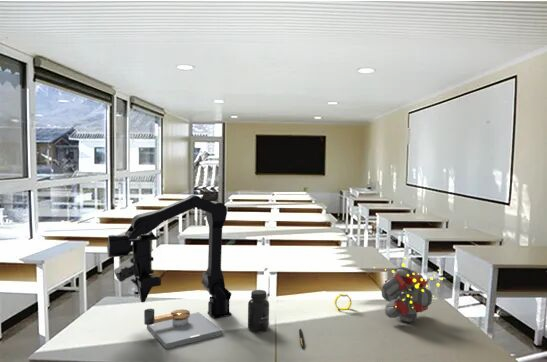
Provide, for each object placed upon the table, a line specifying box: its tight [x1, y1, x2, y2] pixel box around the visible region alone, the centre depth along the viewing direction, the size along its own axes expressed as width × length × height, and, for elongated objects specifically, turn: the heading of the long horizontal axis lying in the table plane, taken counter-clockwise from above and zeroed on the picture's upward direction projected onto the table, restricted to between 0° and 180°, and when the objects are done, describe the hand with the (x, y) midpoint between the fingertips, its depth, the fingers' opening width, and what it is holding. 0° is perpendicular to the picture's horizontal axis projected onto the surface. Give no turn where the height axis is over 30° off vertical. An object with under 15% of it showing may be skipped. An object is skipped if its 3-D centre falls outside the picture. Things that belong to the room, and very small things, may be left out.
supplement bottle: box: [247, 289, 270, 333], centre depth 136 cm, size 7×7×12 cm
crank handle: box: [143, 308, 191, 326], centre depth 134 cm, size 14×6×4 cm, turn 124°
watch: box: [334, 292, 353, 311], centre depth 154 cm, size 6×3×6 cm, turn 96°
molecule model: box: [373, 256, 444, 323], centre depth 143 cm, size 25×21×23 cm
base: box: [146, 312, 223, 349], centre depth 134 cm, size 18×18×4 cm
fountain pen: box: [298, 327, 305, 349], centre depth 129 cm, size 14×1×2 cm, turn 0°
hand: (142, 301), depth 137 cm, fingers closed
